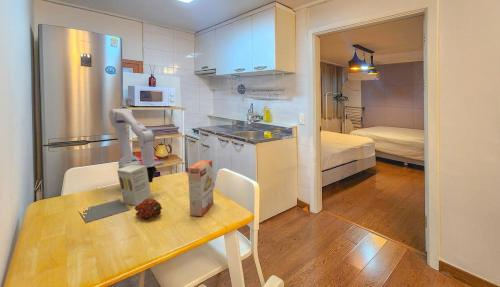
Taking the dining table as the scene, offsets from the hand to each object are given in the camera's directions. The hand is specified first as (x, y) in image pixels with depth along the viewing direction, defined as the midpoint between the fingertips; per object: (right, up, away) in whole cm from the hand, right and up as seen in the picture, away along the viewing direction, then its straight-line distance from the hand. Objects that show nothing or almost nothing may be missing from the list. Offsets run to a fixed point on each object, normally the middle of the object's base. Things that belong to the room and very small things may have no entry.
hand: (150, 181), depth 126 cm
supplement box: (-5, -9, -3) cm, 10 cm away
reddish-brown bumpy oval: (+7, -12, -20) cm, 25 cm away
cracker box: (+29, -10, -14) cm, 34 cm away
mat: (-15, -11, -13) cm, 23 cm away
